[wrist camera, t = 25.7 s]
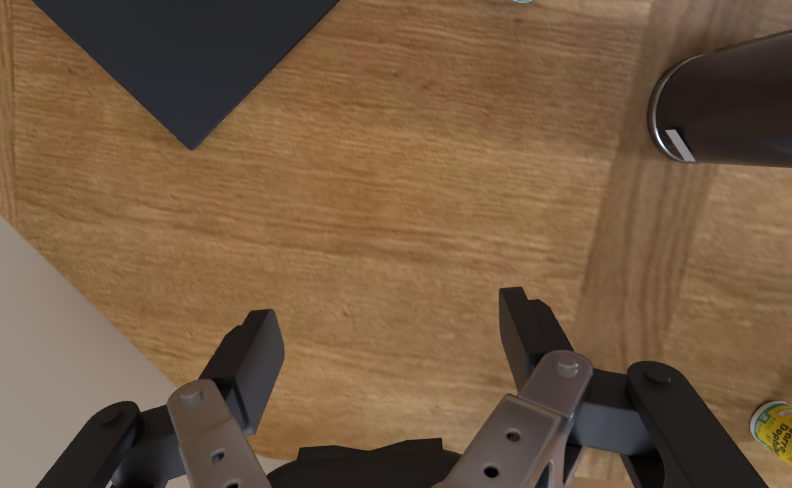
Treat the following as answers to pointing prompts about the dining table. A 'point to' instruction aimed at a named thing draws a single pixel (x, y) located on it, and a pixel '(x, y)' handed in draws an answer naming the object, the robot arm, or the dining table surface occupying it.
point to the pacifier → (523, 1)
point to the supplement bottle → (774, 428)
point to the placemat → (187, 50)
